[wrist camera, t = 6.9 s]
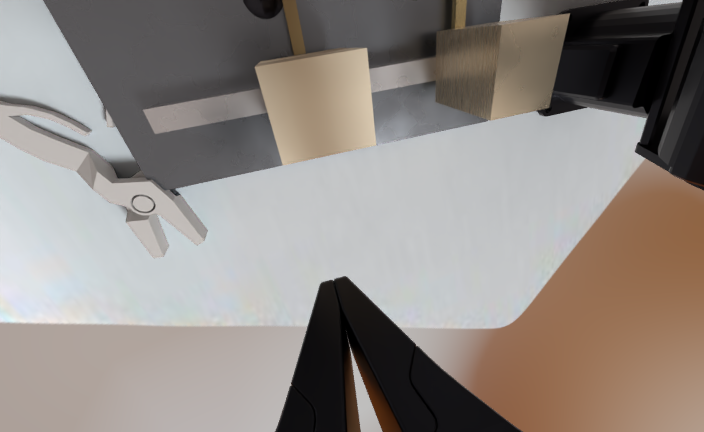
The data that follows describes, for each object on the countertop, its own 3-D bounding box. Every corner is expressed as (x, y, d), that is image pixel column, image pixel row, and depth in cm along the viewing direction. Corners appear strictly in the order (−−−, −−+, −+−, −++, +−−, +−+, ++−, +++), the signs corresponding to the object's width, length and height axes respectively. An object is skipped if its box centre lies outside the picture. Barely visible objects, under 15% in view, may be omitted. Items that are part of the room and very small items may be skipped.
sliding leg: (323, -48, 13) (353, -105, 8) (346, 117, 17) (376, 145, 12) (234, -37, 12) (209, -91, 8) (280, 130, 16) (282, 165, 12)
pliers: (85, -75, 11) (251, 226, 19) (105, -61, 12) (253, 214, 21) (-191, -6, 10) (105, 278, 18) (-138, 1, 12) (116, 262, 20)
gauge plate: (500, -99, 15) (659, -202, 9) (478, 117, 20) (564, 147, 14) (29, -48, 12) (-222, -147, 6) (160, 186, 18) (101, 257, 12)
